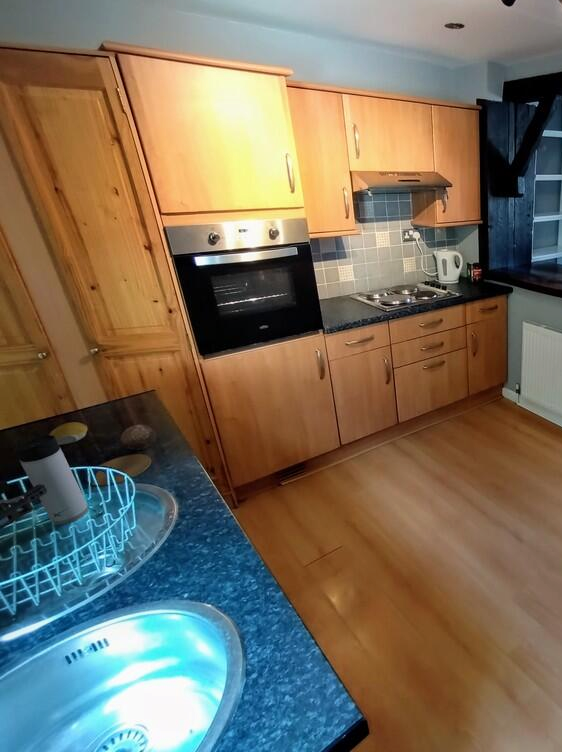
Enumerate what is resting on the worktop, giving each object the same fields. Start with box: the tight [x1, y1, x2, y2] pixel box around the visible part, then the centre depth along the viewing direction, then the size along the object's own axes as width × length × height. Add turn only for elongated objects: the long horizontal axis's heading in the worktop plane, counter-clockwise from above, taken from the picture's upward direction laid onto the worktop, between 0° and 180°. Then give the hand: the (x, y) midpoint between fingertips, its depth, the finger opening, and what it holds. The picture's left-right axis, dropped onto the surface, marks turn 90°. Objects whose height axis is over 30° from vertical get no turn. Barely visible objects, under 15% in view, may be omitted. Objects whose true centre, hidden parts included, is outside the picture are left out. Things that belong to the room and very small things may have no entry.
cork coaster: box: [86, 453, 152, 487], centre depth 117 cm, size 13×13×1 cm
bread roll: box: [49, 421, 88, 446], centre depth 130 cm, size 8×9×4 cm
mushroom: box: [119, 424, 158, 451], centre depth 126 cm, size 8×8×6 cm
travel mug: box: [13, 434, 89, 526], centre depth 98 cm, size 6×7×20 cm
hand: (25, 486), depth 92 cm, fingers open, 8 cm apart
